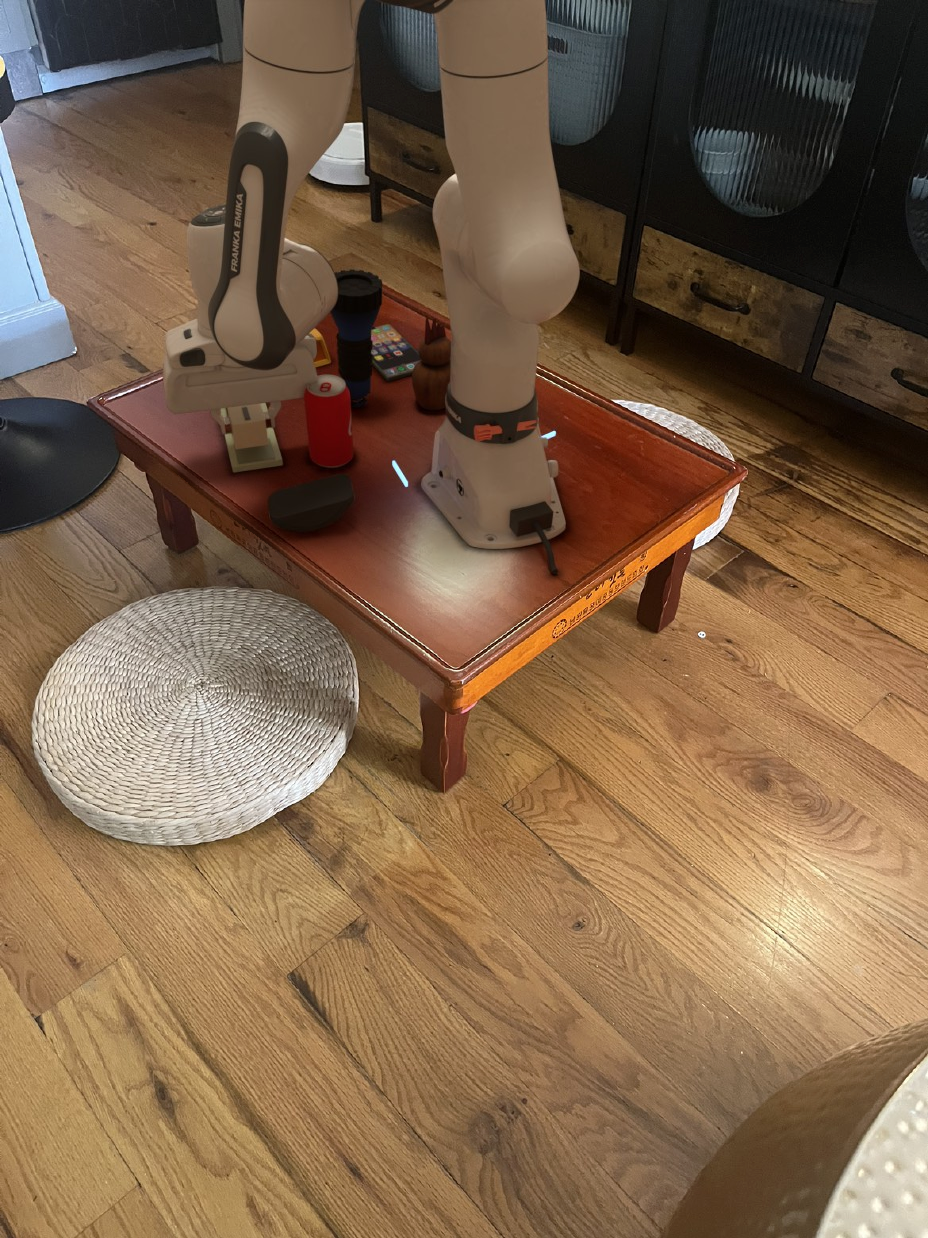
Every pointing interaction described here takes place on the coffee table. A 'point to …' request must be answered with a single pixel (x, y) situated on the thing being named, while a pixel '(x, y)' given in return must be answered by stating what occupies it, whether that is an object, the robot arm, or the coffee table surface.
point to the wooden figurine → (432, 368)
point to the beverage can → (329, 421)
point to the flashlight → (356, 329)
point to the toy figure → (320, 350)
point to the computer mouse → (311, 504)
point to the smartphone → (392, 353)
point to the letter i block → (248, 426)
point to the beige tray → (254, 451)
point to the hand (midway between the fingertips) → (247, 428)
